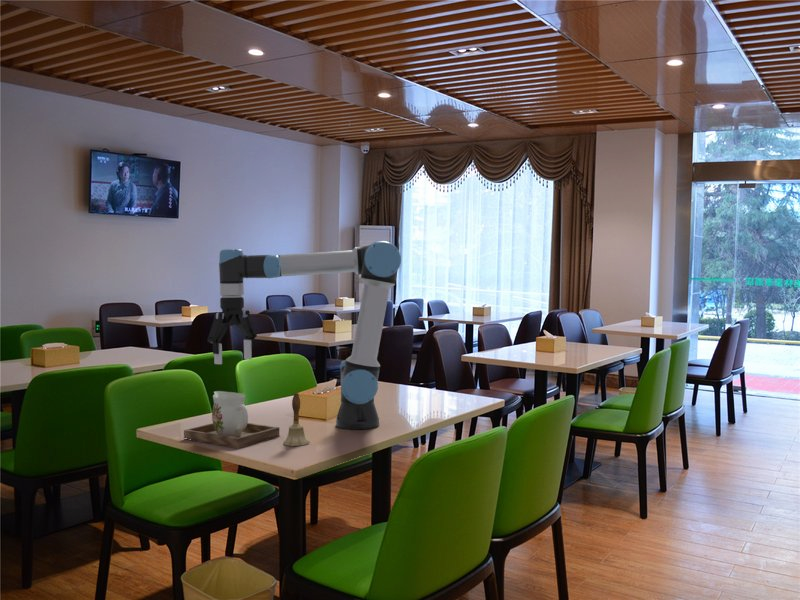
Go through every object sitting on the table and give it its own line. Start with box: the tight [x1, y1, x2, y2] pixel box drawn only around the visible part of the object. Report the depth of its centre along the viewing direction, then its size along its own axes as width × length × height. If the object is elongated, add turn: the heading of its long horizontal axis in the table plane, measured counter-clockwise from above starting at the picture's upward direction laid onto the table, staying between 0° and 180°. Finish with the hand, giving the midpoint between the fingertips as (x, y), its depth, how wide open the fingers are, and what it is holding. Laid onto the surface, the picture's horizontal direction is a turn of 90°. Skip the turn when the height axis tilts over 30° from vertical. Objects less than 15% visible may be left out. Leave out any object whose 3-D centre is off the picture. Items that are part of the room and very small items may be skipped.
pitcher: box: [211, 390, 249, 437], centre depth 241 cm, size 11×18×14 cm, turn 46°
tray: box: [183, 422, 280, 449], centre depth 241 cm, size 24×19×3 cm
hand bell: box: [282, 392, 310, 447], centre depth 233 cm, size 8×8×16 cm
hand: (233, 361), depth 242 cm, fingers open, 13 cm apart
